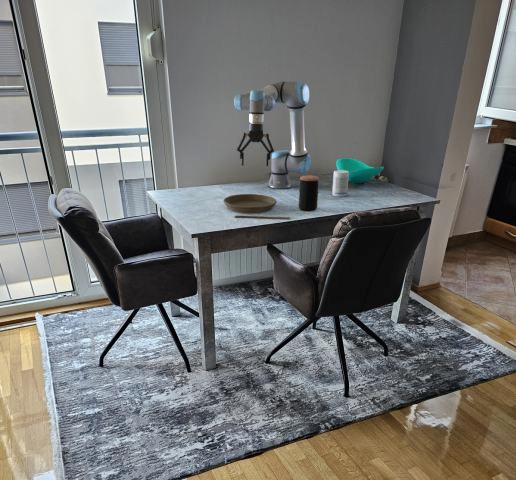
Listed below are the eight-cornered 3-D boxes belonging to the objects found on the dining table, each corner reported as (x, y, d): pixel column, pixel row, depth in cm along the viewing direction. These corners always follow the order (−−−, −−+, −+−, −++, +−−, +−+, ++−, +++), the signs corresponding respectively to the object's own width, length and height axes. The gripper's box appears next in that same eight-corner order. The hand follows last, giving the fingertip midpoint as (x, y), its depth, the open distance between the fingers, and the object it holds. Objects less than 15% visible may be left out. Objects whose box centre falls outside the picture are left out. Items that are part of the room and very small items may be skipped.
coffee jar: (318, 207, 276) (320, 176, 267) (314, 212, 267) (316, 180, 258) (301, 206, 279) (302, 174, 270) (296, 210, 270) (298, 178, 261)
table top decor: (325, 179, 343) (326, 160, 336) (355, 175, 355) (357, 156, 348) (359, 190, 314) (362, 169, 307) (391, 186, 325) (394, 165, 318)
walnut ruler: (234, 217, 258) (234, 216, 258) (235, 216, 261) (235, 215, 260) (289, 219, 256) (289, 218, 256) (289, 218, 258) (289, 217, 258)
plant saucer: (279, 202, 287) (280, 194, 284) (271, 216, 261) (271, 208, 258) (230, 199, 291) (230, 192, 289) (217, 213, 265) (217, 205, 263)
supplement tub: (349, 195, 301) (352, 171, 293) (338, 197, 296) (341, 173, 289) (339, 192, 308) (341, 169, 300) (328, 194, 303) (330, 171, 296)
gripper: (233, 122, 244) (232, 165, 253) (280, 124, 247) (278, 167, 256) (232, 122, 250) (231, 164, 260) (278, 123, 253) (276, 165, 263)
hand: (254, 165), depth 258 cm, fingers open, 13 cm apart
